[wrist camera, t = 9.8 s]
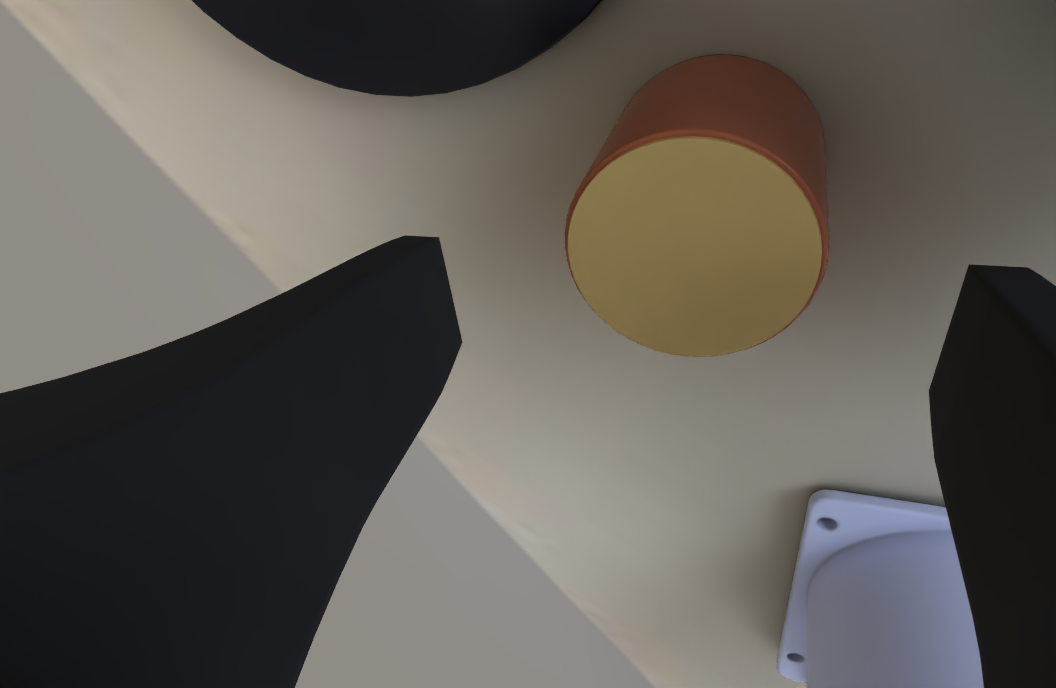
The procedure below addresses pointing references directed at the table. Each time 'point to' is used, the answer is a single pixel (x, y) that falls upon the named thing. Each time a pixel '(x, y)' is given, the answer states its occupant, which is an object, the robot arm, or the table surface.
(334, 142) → the table surface
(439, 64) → the lid
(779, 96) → the cylinder
